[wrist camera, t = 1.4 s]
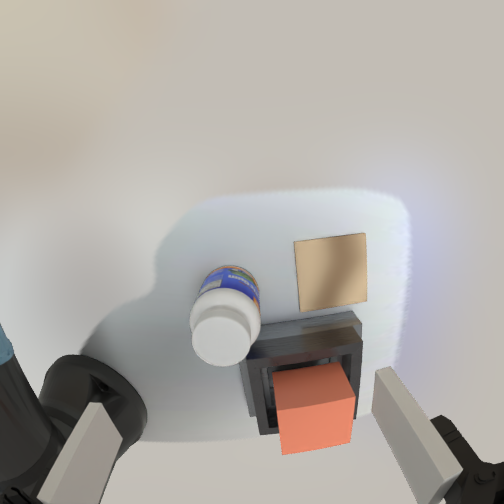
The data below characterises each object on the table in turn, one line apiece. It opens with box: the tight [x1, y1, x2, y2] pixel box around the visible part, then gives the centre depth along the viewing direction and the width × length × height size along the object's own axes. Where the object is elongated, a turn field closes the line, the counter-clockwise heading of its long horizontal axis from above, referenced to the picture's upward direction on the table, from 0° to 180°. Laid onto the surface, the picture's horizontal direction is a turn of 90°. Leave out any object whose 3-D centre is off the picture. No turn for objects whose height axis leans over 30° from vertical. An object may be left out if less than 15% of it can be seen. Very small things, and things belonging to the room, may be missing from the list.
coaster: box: [294, 233, 367, 312], centre depth 27 cm, size 7×7×1 cm
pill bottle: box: [189, 266, 261, 367], centre depth 23 cm, size 5×5×10 cm
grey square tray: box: [239, 311, 363, 435], centre depth 27 cm, size 12×10×6 cm
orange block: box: [272, 361, 356, 455], centre depth 22 cm, size 6×6×5 cm
